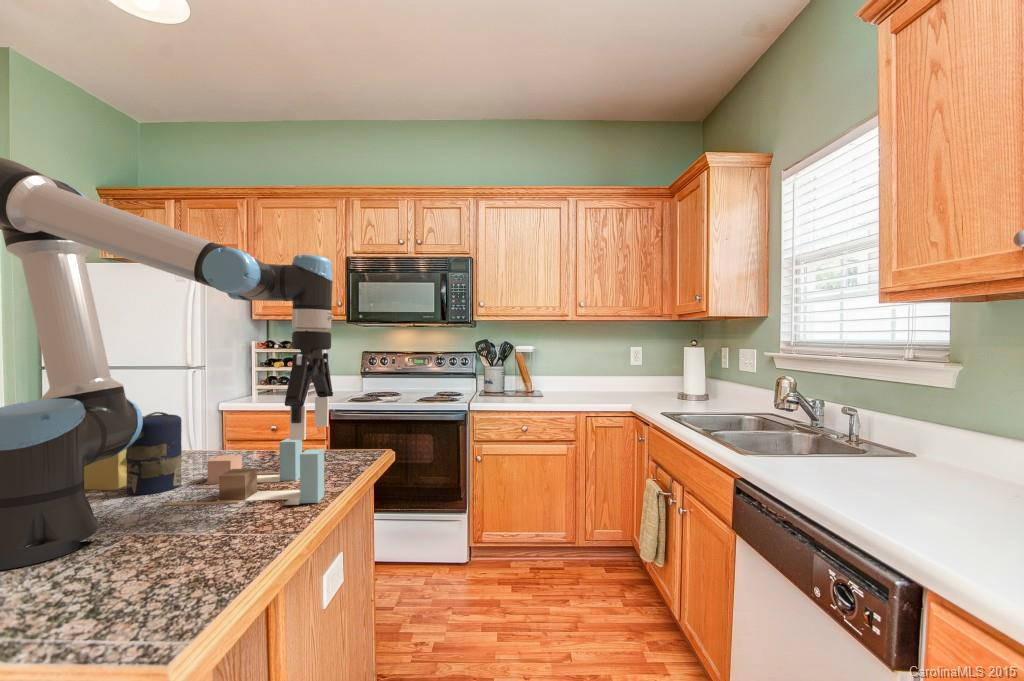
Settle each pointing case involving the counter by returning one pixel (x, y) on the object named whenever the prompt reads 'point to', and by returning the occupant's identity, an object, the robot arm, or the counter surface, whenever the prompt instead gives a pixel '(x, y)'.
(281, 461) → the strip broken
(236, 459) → the block clay
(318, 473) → the multicoloured block
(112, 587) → the counter surface
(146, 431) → the canister
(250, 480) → the block walnut
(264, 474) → the lane frame
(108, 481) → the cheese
